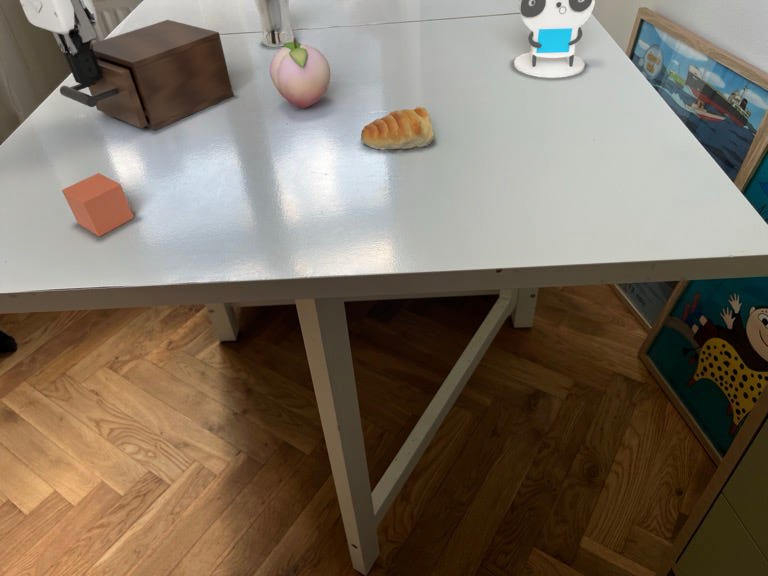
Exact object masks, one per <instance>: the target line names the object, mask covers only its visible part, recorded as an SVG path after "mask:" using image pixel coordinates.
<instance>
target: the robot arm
mask: <svg viewBox="0 0 768 576" xmlns="http://www.w3.org/2000/svg"><path fill="white" fill-rule="evenodd" d="M19 2H20V5H21V7H22V10H23V12H24V15H25V17H26V19H27V21H28V22H29V23H30V24H31V25H33V26H34V27H37V28H39V29H42V30H46V31H48V32H50V33H52V36H54V38H55V41H56V43H57V45H58V46H59V49H60V50H61V52H63V55H64V58H65V60H66V62H67V65H68V67H69V69H70V72H71V74H72V77H73V79H74V81H75V83H77V84H82V85H87V84H89V83H92V82H95V81H98V80H100V79H102V78H103V74H102V72H101V69H100V67H99V64H98V61H97V59H96V56H95V54H94V51H93V44H92V43H93V41H95V40H97V39H98V36H97V34H96V31H95V29H94V28H93V27H95V26H96V25H97V23H98V20H99V19H98V14H97V10H96V8H95V5H94V2H93V0H19Z"/></svg>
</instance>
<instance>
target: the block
mask: <svg viewBox="0 0 768 576" xmlns="http://www.w3.org/2000/svg"><path fill="white" fill-rule="evenodd" d="M61 192H62V194H63V197H64V199H65V200H66V202H67V204H68V206H69V208H70V210H71V212H72V214H73V216H74V218H75V220H76V222H77V224H78V225H79V226H82V228H84V229H86V230H88V231H89V232H91V233H93V234H94V235H96V236H98V237H101V236H103V235H105V234H107V233H110V232H111V231H112V230H114V229H116V228H118V227H120V226H122V225H123V224H125V223H128V222H129V221H131V220H133V219H135V216H134V214H133V211H132V209H131V206H130V204H129V202H128V199H127V197H126V194H125V192H124V189H123V187H122V184H121V183H119V182H117V181H115V180H113V179H111V178H109V177H107V176H106V175H104V174H102V173H99V172H97V173H95V174H93V175H91V176H89V177H87V178H84V179H82V180H80V181H78V182H76V183H74V184H71V185H69V186H67V187H65V188H63V189H61Z"/></svg>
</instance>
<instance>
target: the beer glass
mask: <svg viewBox="0 0 768 576" xmlns="http://www.w3.org/2000/svg"><path fill="white" fill-rule="evenodd" d="M254 4H255V7H256V10H257V12H258V15H259V16H258V17H259V18H260V22H261V23H260V24H261V31H262V36H261V37H262V38H261V39H262V44H263V45H264V46H265V47H269V48H281V47H285V46H284V44H285V43H287V42H293V41H294V40H293V38H295V37H294V32H293V30H292V26H291V21H290V0H254Z"/></svg>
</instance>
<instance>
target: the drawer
mask: <svg viewBox="0 0 768 576" xmlns="http://www.w3.org/2000/svg"><path fill="white" fill-rule="evenodd" d="M96 57H97V61H98V64H99V67H100V69H101V72H102V74H103V78H102V79H100V80H98V81H95V82H92V83H89V84H87V85H82V84H79V83H77V84H75V85H72V86H68V85H62V86H60V88H59V93H60V95H62V96H63V97H65V98H67V99H70V100H72V101H75V102H77V103H80V104H82V105H84V106H87V107H89V108H94V107H95V108H96V110H97V111H99V112H101V113H104V114H106V115H108V116H110V117H113V118H116V119H118V120H121V121H123V122H125V123H127V124H130V125H132V126H135V127H137V128H139V129H143V128H144V127H146V126H147V125H148V124H147V121H146V118H145V116H147V117H148V115H147V112H146V109H145V106H144V103H143V100H142V97H141V94H140V91H139V88H138V85H137V82H136V79H135V76H134V74H133V71H132V68H131V67H128V66H125V65H122V64H119V63H116V62H113V61H110V60H107V59H104V58H101V57H98V56H96ZM87 88H88V90H89V93H90V94H87V93H85V92H82V91H81V90H84V89H87Z"/></svg>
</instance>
